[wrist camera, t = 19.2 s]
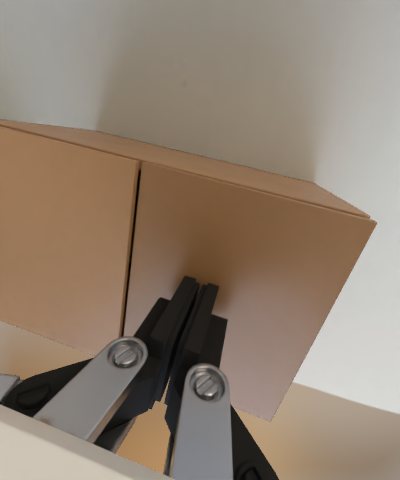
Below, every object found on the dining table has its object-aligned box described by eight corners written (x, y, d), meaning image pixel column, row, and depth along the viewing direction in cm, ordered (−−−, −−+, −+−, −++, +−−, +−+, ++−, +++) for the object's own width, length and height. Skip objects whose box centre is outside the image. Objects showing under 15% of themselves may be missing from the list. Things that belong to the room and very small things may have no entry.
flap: (373, 219, 8) (378, 222, 8) (270, 415, 13) (270, 422, 13) (145, 161, 10) (141, 162, 9) (123, 357, 14) (120, 362, 14)
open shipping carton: (315, 183, 17) (381, 222, 8) (265, 306, 22) (271, 423, 13) (94, 130, 20) (-52, 113, 10) (91, 252, 24) (-14, 316, 15)
